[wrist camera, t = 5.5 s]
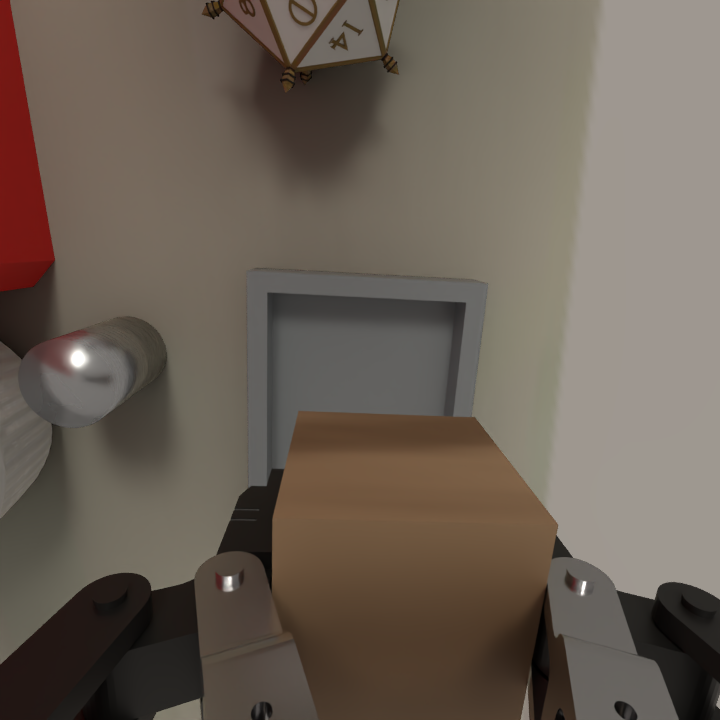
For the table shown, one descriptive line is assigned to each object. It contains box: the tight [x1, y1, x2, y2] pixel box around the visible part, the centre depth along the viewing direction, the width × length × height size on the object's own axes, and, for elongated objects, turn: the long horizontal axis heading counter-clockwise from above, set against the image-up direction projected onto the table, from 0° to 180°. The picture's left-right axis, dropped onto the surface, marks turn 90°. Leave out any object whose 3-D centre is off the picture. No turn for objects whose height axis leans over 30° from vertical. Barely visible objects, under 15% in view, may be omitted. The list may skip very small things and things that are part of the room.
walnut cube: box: [272, 411, 558, 720], centre depth 11 cm, size 5×5×5 cm
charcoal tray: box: [247, 268, 488, 488], centre depth 25 cm, size 18×12×2 cm, turn 177°
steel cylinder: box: [18, 316, 167, 428], centre depth 22 cm, size 4×4×6 cm
